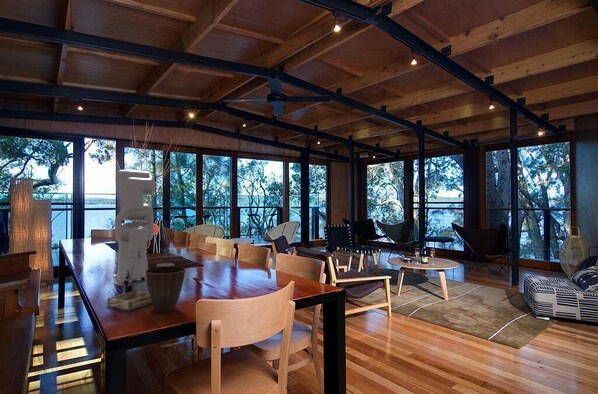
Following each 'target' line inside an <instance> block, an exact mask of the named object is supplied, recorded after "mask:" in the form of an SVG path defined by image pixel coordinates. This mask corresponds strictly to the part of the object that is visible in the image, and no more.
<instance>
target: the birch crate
mask: <svg viewBox="0 0 598 394" xmlns="http://www.w3.org/2000/svg"><path fill="white" fill-rule="evenodd" d="M131 295H133V296H131ZM136 295H140V296H136ZM151 304H152V301H151V297H150V294H149V292H148V293H146V292H140V291H132V292H128V293H124V292H123V293H121V294H117V295H115V296H110V297H107V302H106V306H107V307H106V308H112V309H117V310H122V311H127V312H131V311H134V310H137V309H139V308H144V307H147V306H149V305H151ZM152 305H153V304H152Z"/></svg>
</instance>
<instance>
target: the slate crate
mask: <svg viewBox="0 0 598 394" xmlns="http://www.w3.org/2000/svg"><path fill="white" fill-rule="evenodd" d="M128 283H129V281H128ZM130 286H132V289H131V292H132V291H140V292H146V293H149V290H148V285H147V281H144V280H141V279H140V280H137V279H136V280H133V281H132V283H131V285H130ZM123 287H124V289H123V294H124V293H125V285H124V286H123ZM131 296H133V295H131ZM136 296H140V295H136Z"/></svg>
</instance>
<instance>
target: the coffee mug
mask: <svg viewBox="0 0 598 394" xmlns="http://www.w3.org/2000/svg"><path fill="white" fill-rule="evenodd" d="M170 266H171V267H175V264H174V263H170V262H166V263H158V264H156V266H152V267H150V268H149V269H151V268H157V267H170Z"/></svg>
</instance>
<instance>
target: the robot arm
mask: <svg viewBox="0 0 598 394" xmlns="http://www.w3.org/2000/svg"><path fill="white" fill-rule="evenodd" d="M115 184H116V187H117V188H116V189H117V190H118V193H119V199H120V201H119V203H120V204H119V205H120V206H119V207H120V211H119V213H117V215H116V217H115V222H114V235H115V240H116V241H117V242H118V257H117V258H118V259H117V273H116V274H114V275H113V278H114V279H115V280H114V281H113V284H114V286H119V287H120V286H123V287H124V285H125V293H128V292H131V289H132V286H130V285H131V283H132V281H133V280H136V279H137V280H144V281H147V279H146V270H148V269H149V265H148V264H149V263H148V257H147V253H148V251H147V244H148V243H147V241H151V240H152V239H153V238H154V235H155V234H154V233H155V225H154V224H155V223H154V210H153V206H152V205H151V204H149V203H144V202H145V201H144V195H153V194H155V191H156V182H155V179H154V177H153V175H152V173H151V172H150V171H146V170H133V169H120V170H118V171H117V172H116V174H115ZM123 221H127V222H125V223H122V222H123ZM128 281H129V283H128Z"/></svg>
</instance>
